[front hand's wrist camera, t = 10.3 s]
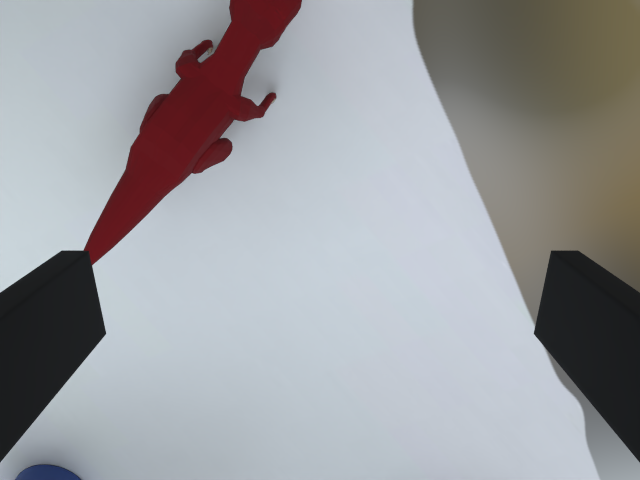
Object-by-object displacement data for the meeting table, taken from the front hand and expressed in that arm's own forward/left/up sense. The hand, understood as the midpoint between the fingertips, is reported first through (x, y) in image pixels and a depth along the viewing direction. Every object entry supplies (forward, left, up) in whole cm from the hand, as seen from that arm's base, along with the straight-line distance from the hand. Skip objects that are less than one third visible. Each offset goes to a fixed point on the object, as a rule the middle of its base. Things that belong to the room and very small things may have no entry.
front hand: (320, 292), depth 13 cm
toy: (-5, -8, -28) cm, 29 cm away
